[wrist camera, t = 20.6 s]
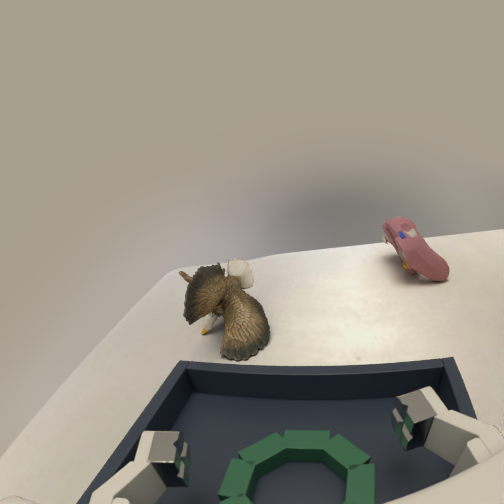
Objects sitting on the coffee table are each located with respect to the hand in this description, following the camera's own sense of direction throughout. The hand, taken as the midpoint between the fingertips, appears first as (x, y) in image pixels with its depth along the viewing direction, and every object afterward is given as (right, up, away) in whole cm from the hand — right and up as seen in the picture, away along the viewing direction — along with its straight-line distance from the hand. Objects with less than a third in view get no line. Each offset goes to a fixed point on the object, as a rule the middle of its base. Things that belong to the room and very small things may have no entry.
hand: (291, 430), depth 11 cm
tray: (+1, -4, +1) cm, 5 cm away
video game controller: (+17, +5, +23) cm, 28 cm away
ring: (+1, -4, 0) cm, 4 cm away
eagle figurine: (-4, 0, +17) cm, 17 cm away
